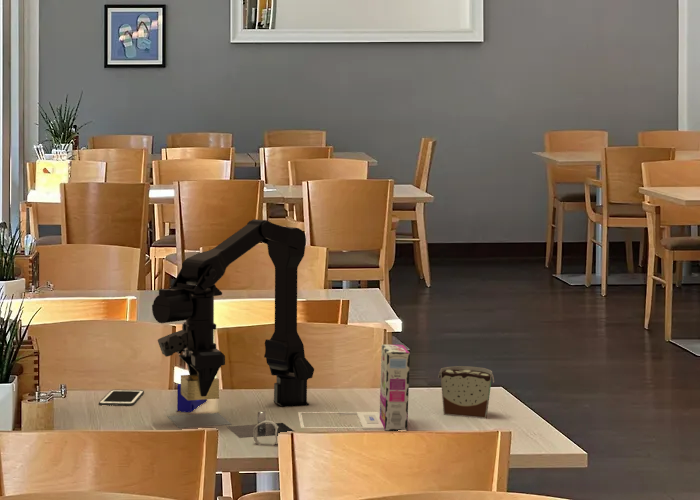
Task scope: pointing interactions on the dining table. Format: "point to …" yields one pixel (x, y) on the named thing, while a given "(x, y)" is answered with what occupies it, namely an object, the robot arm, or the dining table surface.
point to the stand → (258, 428)
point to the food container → (465, 391)
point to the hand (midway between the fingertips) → (199, 392)
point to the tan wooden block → (197, 388)
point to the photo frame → (365, 418)
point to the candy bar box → (394, 387)
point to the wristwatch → (277, 430)
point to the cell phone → (121, 397)
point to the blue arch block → (186, 402)
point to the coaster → (198, 420)
